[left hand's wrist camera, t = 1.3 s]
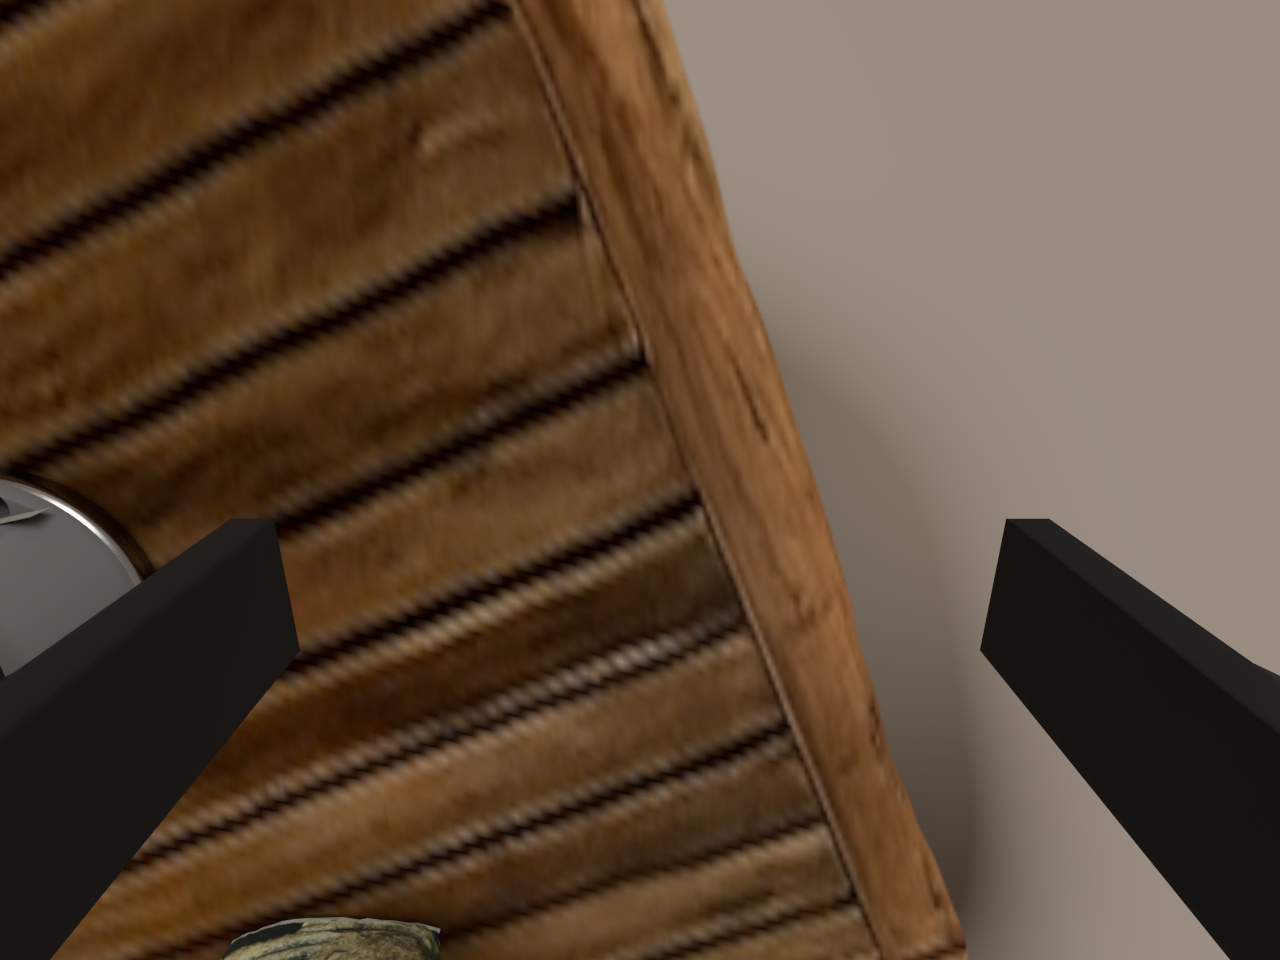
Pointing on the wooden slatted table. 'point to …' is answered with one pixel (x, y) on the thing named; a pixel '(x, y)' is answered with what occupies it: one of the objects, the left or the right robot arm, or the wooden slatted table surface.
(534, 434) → the wooden slatted table surface
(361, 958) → the fossil
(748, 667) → the wooden slatted table surface
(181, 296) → the wooden slatted table surface
